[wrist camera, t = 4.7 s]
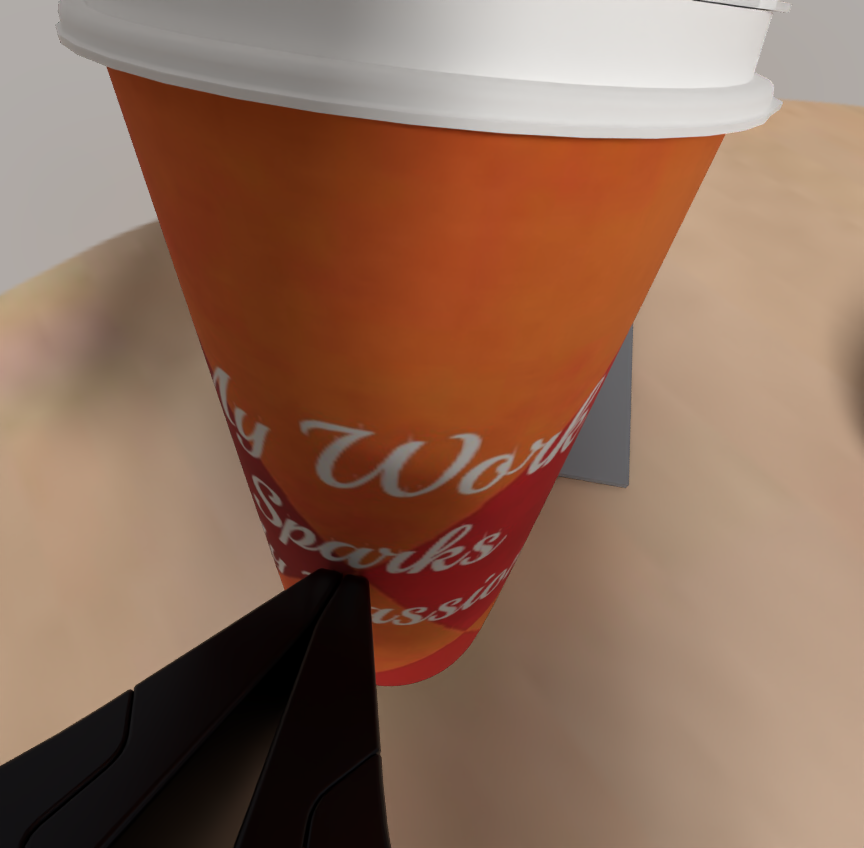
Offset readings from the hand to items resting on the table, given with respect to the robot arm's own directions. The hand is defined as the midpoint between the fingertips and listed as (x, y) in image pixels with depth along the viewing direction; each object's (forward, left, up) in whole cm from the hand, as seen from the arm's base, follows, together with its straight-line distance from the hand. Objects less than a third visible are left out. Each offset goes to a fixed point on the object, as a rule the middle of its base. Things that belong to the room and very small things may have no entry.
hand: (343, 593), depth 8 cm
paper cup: (0, -1, -6) cm, 7 cm away
